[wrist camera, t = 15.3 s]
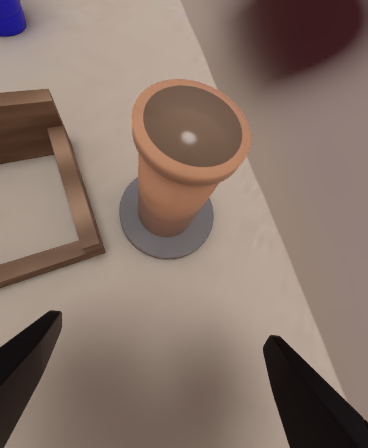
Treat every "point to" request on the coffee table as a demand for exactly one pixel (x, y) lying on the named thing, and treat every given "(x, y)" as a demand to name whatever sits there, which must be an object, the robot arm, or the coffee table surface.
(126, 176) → the coffee table surface
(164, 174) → the pot
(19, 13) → the hyacinth
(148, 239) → the saucer
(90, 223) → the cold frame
